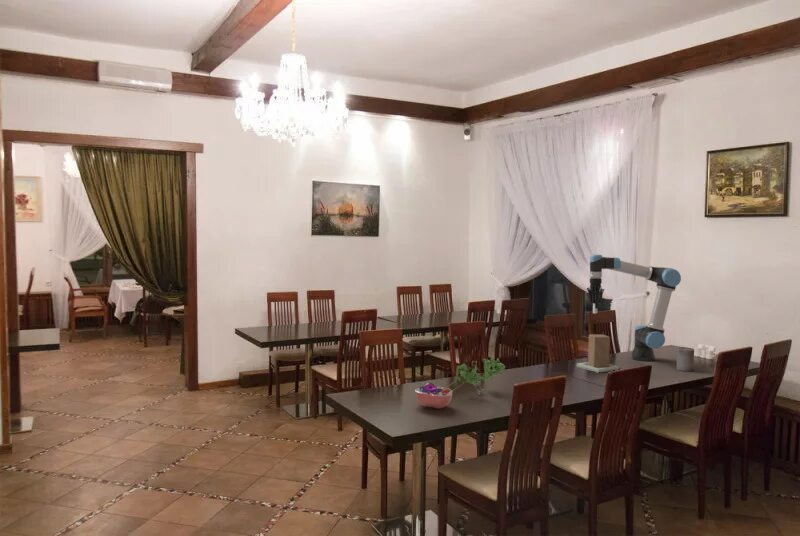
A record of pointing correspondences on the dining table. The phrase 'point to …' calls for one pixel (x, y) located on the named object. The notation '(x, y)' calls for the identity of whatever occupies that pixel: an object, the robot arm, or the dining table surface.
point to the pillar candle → (685, 359)
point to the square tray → (605, 369)
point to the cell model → (433, 396)
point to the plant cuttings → (488, 363)
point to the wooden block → (599, 351)
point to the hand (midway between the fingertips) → (595, 313)
